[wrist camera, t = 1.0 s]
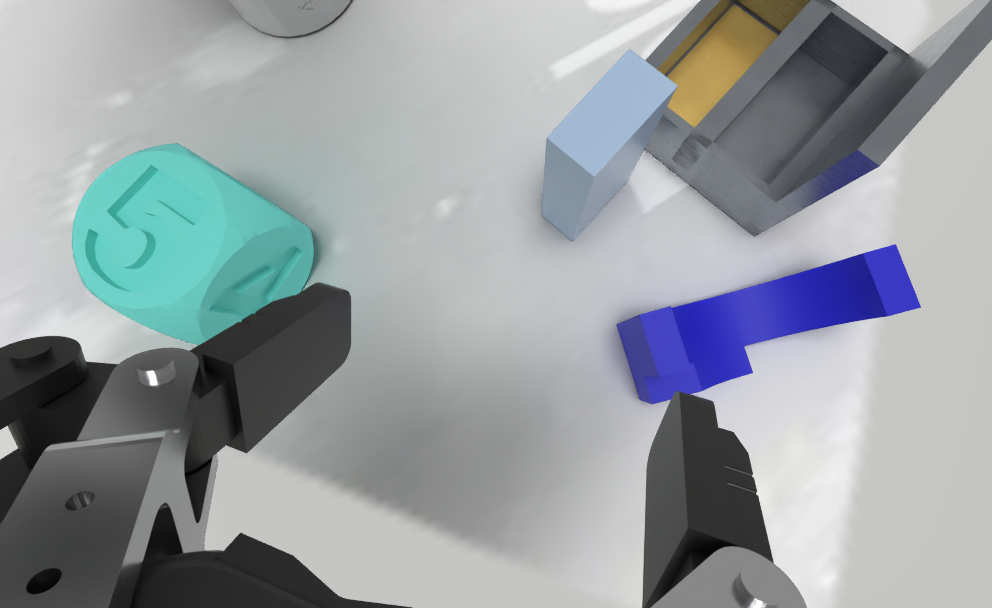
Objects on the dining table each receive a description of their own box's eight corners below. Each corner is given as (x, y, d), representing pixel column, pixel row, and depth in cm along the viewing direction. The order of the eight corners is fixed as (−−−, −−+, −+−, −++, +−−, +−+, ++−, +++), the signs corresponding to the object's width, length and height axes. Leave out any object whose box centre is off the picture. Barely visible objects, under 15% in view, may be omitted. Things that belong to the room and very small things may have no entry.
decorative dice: (335, 244, 30) (263, 201, 22) (261, 351, 29) (160, 347, 21) (238, 180, 31) (135, 117, 23) (165, 282, 30) (35, 254, 22)
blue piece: (638, 399, 27) (669, 410, 21) (616, 324, 28) (639, 314, 22) (844, 344, 27) (934, 339, 21) (816, 269, 27) (895, 244, 21)
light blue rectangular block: (541, 215, 29) (546, 137, 19) (595, 156, 29) (629, 48, 19) (572, 241, 28) (594, 177, 18) (626, 181, 29) (677, 85, 19)
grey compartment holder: (610, 122, 29) (652, -3, 19) (721, 1, 29) (818, -181, 20) (754, 236, 28) (879, 166, 18) (869, 107, 28) (1054, -32, 18)
